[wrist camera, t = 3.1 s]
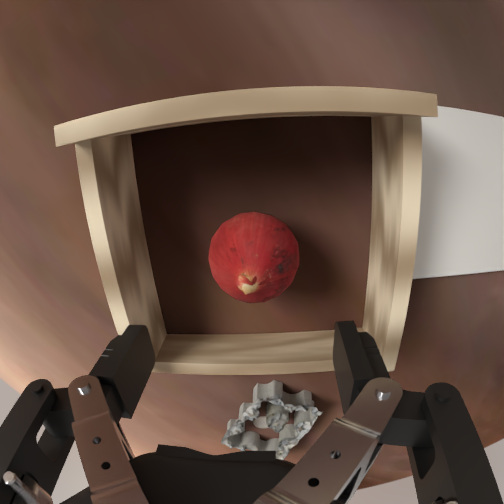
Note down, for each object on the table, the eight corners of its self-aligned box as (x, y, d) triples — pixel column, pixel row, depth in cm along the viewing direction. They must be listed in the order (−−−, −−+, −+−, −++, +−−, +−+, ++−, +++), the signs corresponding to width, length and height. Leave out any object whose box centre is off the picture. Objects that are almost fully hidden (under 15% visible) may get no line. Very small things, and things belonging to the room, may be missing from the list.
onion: (291, 195, 23) (300, 230, 16) (298, 268, 25) (308, 327, 18) (212, 205, 24) (185, 244, 16) (225, 275, 26) (207, 335, 19)
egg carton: (273, 443, 35) (273, 470, 31) (217, 424, 34) (213, 451, 30) (326, 395, 31) (330, 424, 27) (264, 370, 30) (262, 401, 26)
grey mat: (409, 103, 20) (412, 103, 19) (533, 124, 19) (536, 125, 18) (402, 276, 25) (404, 279, 25) (518, 266, 24) (520, 268, 24)
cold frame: (115, 121, 22) (53, 126, 14) (385, 101, 20) (436, 94, 13) (157, 343, 29) (130, 404, 22) (373, 336, 28) (397, 399, 20)
